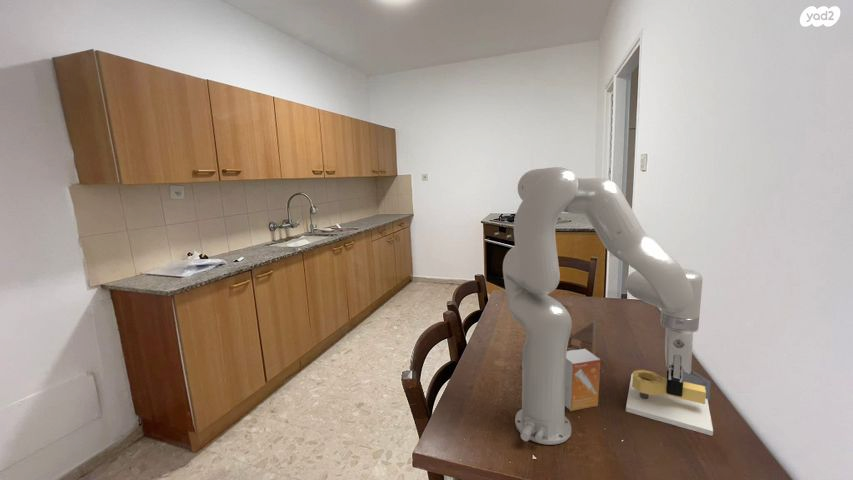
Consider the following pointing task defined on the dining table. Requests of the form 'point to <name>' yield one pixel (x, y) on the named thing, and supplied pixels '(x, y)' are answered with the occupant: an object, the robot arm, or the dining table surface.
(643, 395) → the pin
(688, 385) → the link
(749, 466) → the dining table surface
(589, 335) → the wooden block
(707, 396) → the block
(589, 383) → the small box
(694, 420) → the board
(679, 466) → the dining table surface
